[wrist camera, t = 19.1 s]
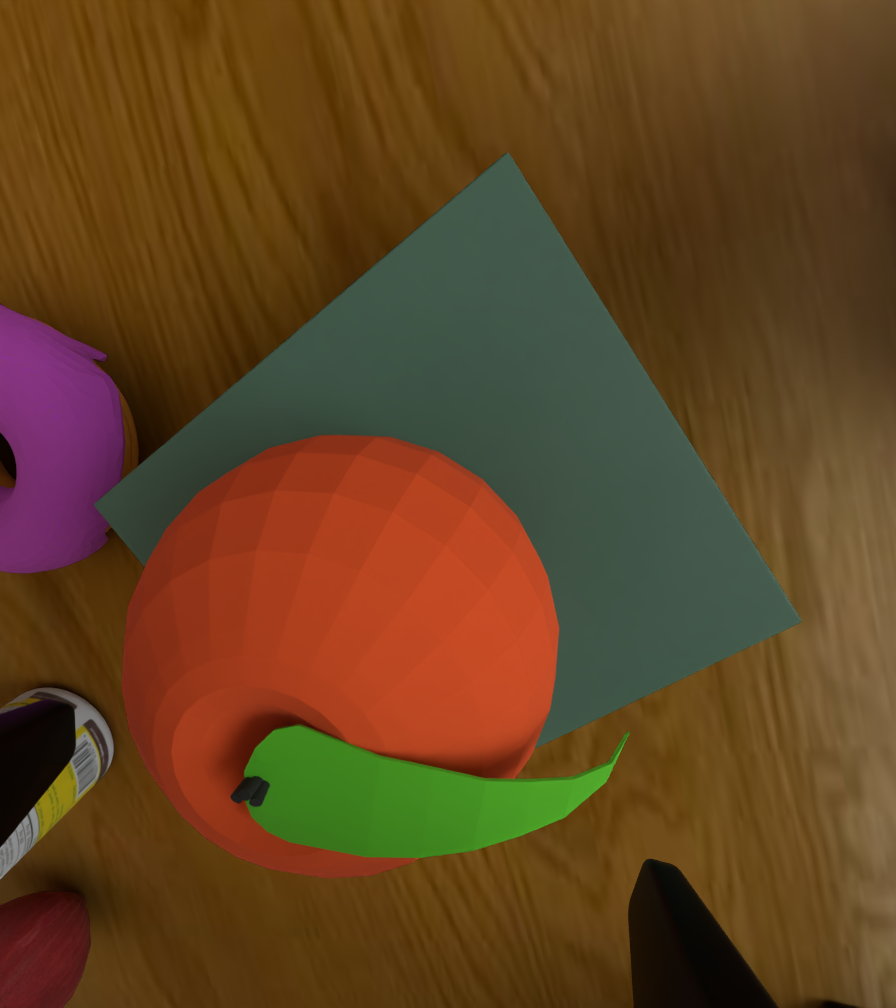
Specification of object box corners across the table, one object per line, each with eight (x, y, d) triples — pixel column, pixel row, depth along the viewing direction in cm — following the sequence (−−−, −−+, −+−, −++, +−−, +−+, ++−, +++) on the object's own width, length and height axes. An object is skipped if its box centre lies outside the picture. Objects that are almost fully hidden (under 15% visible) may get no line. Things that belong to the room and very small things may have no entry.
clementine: (632, 449, 11) (795, 596, 4) (564, 725, 13) (599, 1127, 6) (270, 389, 12) (-80, 431, 5) (257, 657, 14) (-6, 946, 7)
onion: (21, 846, 29) (-163, 1022, 21) (116, 860, 28) (-40, 1049, 20) (43, 926, 30) (-120, 1117, 23) (134, 942, 30) (-4, 1145, 22)
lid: (115, 496, 14) (91, 504, 13) (509, 164, 11) (507, 150, 10) (369, 809, 16) (360, 832, 15) (786, 606, 12) (803, 622, 11)
